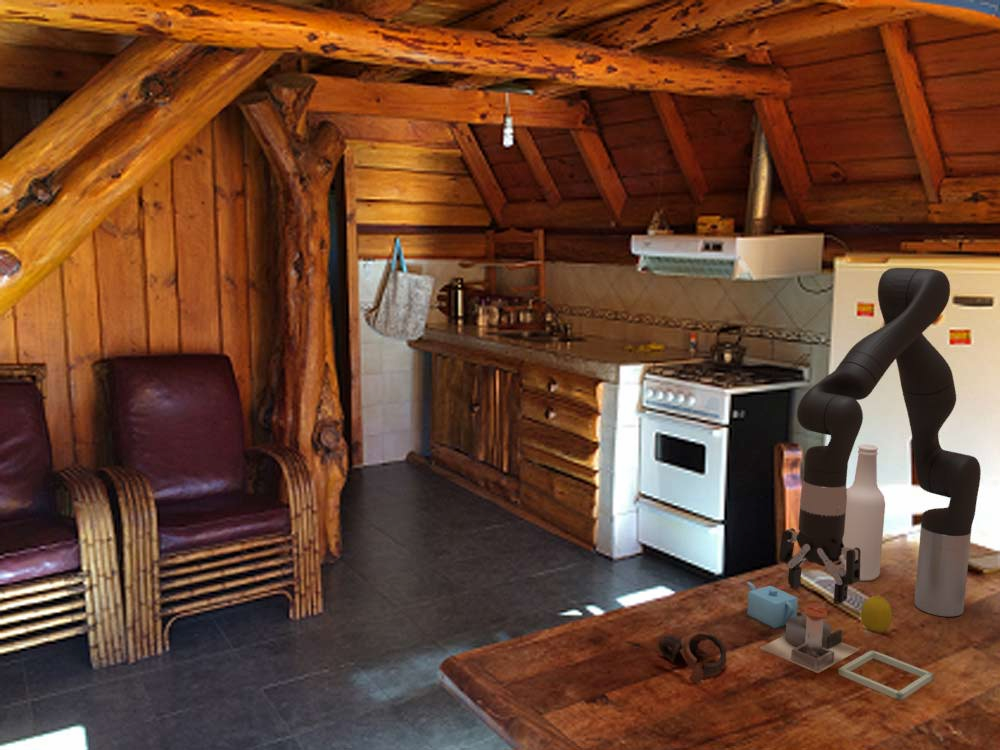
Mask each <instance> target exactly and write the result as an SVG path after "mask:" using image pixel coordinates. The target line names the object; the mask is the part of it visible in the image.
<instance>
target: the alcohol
mask: <svg viewBox="0 0 1000 750" xmlns="http://www.w3.org/2000/svg"><path fill="white" fill-rule="evenodd" d="M878 449H879V448H878V447H877V446H876V445H874V444H867V443H865V444H864V443H863V444H860V445H859V446H858V450H857V454H858V456H857V462H856V469H855V473H854V479H853V480H854V481H853V483H852V485H851V486H850V487H848V488H847V489H846V492H847V502H846V515H845V528H844V536H843V540H842V541H843V545H844V547H847V548H852V549H853V548H856V547H857V548H859V549H860V551H861V553H860V580H859V582H860V581H862V582H869V581H874V580H876V579H877V578H878V577H879V575H881V564H882V563H881V561H882V549H883V548H882V547H883V537H884V536H883V534H884V522H885V512H886V500H885V496H884V494H883V493H882V491H881V489H880V488H879V487H878V477H877V475H878V473H877V468H878V467H877V466H878V465H877V463H878V462H877V461H878V460H877V459H878V457H877V456H878ZM840 557H841V559H842V561H843V563H844V564H845V570H846V560H844V555H843V554H841V555H840Z"/></svg>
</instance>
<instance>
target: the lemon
mask: <svg viewBox="0 0 1000 750" xmlns="http://www.w3.org/2000/svg"><path fill="white" fill-rule="evenodd" d="M860 610H861V612H860V619H861V622H862V623H861V624H862V625H863V626H864V628H865V629H867V630H869V631H871V632H873V633H876V634H883V633H884V632H885V631H887V630H888V629H889V628H890V626H891V625H892V620H893V611H892V608H891V605H890V603H889V602H888V601H887V600H886V599H884V598H883V597H881V596H880V595H878V594H877V595H875V596H870V597H868V598H866V600H865V601H864V602H863V604H862V607H861V609H860Z"/></svg>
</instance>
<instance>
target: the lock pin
mask: <svg viewBox="0 0 1000 750" xmlns="http://www.w3.org/2000/svg"><path fill="white" fill-rule="evenodd" d="M803 608H804V610H803V614H805V615H807V621H806V636H805V651H804V653H805V654H807V655H810V656H812V657H814V658H819V657H820V656H821V648H822V633H823V621H824V619H825V618H827V616H828V607H826V606H825V605H824V604H820V603H814V602H811V603H810V602H809V603H806V604H804V607H803Z"/></svg>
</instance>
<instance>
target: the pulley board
mask: <svg viewBox="0 0 1000 750" xmlns="http://www.w3.org/2000/svg"><path fill="white" fill-rule="evenodd" d="M806 621H807V615H805V614H804V613H802V614H800V615H799V616H798V615H797V617H793V618H790V619H788V620H787V621H786V625H785V635H783V636H781V637H778V638H776V639H774V640H772V641H769V642H768V643H766V644H764V645H762V646H760V647H759V649H760V650H763V651H766V652H768V653H770V654H772V655H774V656H777V657H779V658H782V659H784V660H786V661H789V662H790V663H793V664H795V665H797V666H800V667H801V668H804V669H808V670H810V671H812V672H813V673H816V674H819V673H821V672H823V671H825V670H827V669H829V668H831V667H832V666H834V665H836V664H837V663H839V662H841V661H843V660H845V659H846V658H847V657H848V658H849V657H850V656H851V655H853V654H855V653H857V652H858V651H859V652H860V651H861V649H860V648H858V647H855V646H852V645H850V644H847V643H845V642H842V637H843V629H837V630H836V631H835V630H834V631H833V632H832V627H831V625H830V624H829V623H828V622H826V621H824V620H823V633H822V648H821V656H820V657H819V658H814V657H812V656H810V655H807V654H805V653H804V651H805V636H806Z"/></svg>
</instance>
